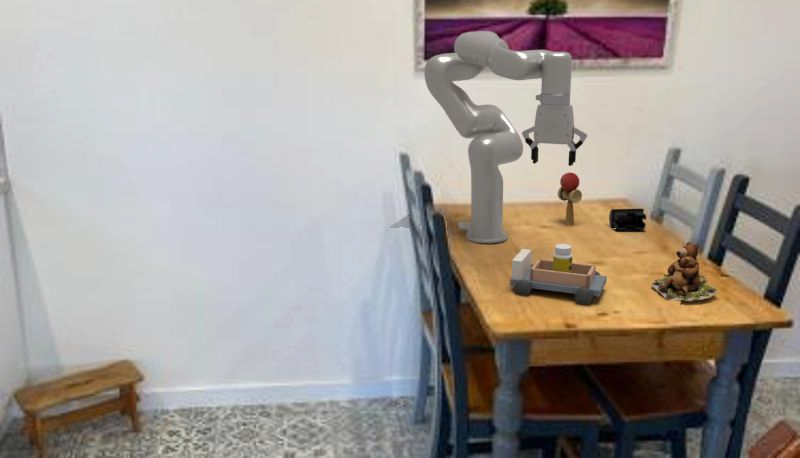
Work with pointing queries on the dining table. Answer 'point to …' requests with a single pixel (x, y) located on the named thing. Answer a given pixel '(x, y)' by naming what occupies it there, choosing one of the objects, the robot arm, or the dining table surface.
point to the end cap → (627, 220)
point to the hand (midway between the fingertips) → (553, 163)
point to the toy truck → (555, 278)
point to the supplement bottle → (562, 258)
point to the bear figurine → (684, 278)
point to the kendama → (569, 194)
